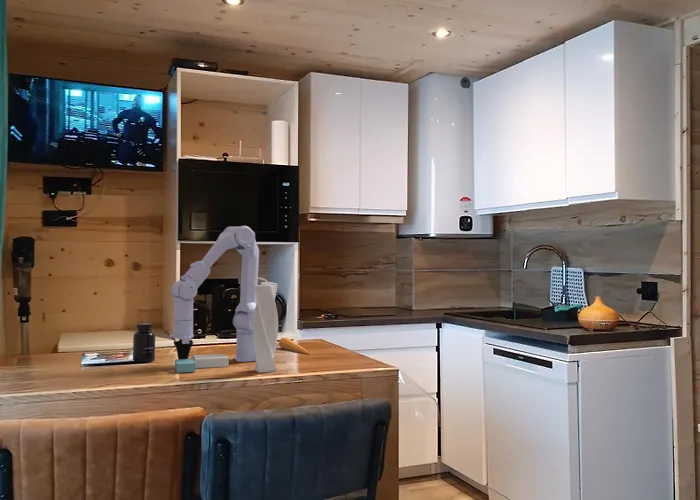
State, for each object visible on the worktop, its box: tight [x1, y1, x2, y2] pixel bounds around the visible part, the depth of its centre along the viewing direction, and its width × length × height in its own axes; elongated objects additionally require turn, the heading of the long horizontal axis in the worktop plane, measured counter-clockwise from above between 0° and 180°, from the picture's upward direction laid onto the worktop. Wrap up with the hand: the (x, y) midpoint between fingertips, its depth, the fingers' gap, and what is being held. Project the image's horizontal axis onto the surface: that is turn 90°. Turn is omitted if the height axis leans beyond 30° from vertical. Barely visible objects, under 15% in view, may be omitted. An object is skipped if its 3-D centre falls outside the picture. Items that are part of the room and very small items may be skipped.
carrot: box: [278, 337, 313, 355], centre depth 223 cm, size 20×4×4 cm, turn 38°
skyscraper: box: [252, 276, 279, 373], centre depth 186 cm, size 8×8×28 cm
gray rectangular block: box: [190, 353, 229, 369], centre depth 194 cm, size 10×8×3 cm
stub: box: [174, 358, 196, 373], centre depth 185 cm, size 5×8×2 cm, turn 21°
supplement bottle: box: [132, 322, 156, 363], centre depth 200 cm, size 7×7×12 cm
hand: (182, 364), depth 190 cm, fingers closed
